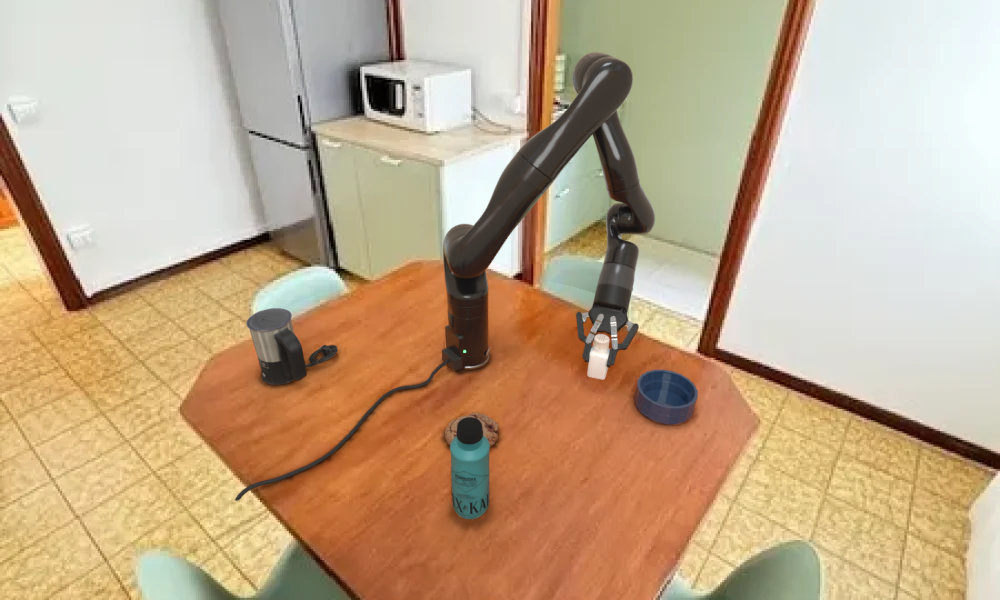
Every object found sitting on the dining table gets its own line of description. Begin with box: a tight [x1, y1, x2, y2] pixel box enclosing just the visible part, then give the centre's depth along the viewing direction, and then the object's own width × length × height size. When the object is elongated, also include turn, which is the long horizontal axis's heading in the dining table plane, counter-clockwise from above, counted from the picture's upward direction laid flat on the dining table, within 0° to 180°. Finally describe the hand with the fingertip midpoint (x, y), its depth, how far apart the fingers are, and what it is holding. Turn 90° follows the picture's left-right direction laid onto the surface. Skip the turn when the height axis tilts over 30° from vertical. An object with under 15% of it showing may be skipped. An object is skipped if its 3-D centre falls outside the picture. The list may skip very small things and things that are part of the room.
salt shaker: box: [586, 333, 611, 381], centre depth 115 cm, size 4×4×10 cm
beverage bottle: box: [449, 417, 491, 520], centre depth 87 cm, size 6×7×20 cm
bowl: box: [633, 369, 699, 425], centre depth 114 cm, size 12×12×5 cm
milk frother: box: [245, 307, 339, 386], centre depth 122 cm, size 14×16×15 cm
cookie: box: [444, 412, 500, 448], centre depth 106 cm, size 10×11×3 cm
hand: (597, 364), depth 114 cm, fingers closed on salt shaker, 4 cm apart
